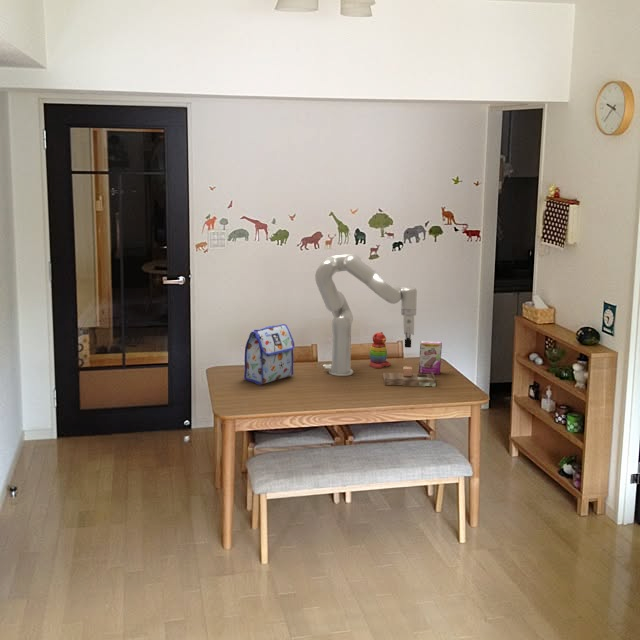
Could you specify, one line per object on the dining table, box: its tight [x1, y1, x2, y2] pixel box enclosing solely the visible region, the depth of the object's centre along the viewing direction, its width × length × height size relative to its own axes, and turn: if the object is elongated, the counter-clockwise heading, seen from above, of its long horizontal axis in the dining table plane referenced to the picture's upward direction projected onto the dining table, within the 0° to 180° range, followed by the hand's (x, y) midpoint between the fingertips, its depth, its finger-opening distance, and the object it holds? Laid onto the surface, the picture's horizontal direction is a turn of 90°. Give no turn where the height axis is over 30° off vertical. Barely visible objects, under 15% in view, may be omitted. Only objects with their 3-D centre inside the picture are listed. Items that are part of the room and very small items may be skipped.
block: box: [402, 366, 413, 377], centre depth 429 cm, size 4×4×4 cm
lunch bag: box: [243, 323, 295, 386], centre depth 424 cm, size 23×17×27 cm
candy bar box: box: [418, 340, 443, 375], centre depth 440 cm, size 11×5×16 cm, turn 84°
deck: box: [382, 371, 437, 388], centre depth 426 cm, size 25×15×4 cm, turn 89°
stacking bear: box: [368, 331, 391, 369], centre depth 452 cm, size 11×10×18 cm
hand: (407, 346), depth 431 cm, fingers closed
